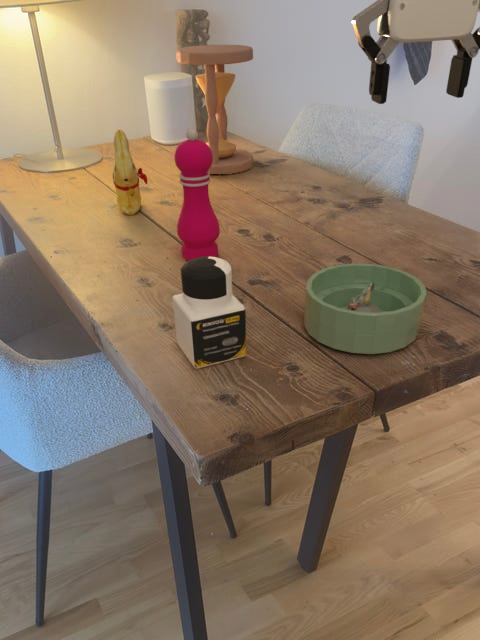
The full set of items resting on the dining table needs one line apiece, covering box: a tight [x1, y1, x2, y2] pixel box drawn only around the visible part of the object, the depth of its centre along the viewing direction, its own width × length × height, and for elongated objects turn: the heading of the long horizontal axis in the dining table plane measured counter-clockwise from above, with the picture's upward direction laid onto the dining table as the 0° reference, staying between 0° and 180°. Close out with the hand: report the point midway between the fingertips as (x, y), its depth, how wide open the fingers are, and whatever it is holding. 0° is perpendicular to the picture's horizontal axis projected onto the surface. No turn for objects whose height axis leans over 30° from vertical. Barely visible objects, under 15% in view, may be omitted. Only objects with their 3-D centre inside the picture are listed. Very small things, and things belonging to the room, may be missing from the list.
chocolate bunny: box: [112, 129, 148, 216], centre depth 114 cm, size 7×11×15 cm, turn 11°
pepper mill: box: [174, 128, 221, 261], centre depth 92 cm, size 7×7×20 cm
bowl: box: [303, 262, 428, 355], centre depth 76 cm, size 15×15×6 cm
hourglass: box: [175, 44, 255, 176], centre depth 136 cm, size 18×18×25 cm
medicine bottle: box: [171, 256, 247, 370], centre depth 70 cm, size 7×7×12 cm
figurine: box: [348, 283, 380, 313], centre depth 76 cm, size 5×4×6 cm
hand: (416, 98), depth 68 cm, fingers open, 9 cm apart
